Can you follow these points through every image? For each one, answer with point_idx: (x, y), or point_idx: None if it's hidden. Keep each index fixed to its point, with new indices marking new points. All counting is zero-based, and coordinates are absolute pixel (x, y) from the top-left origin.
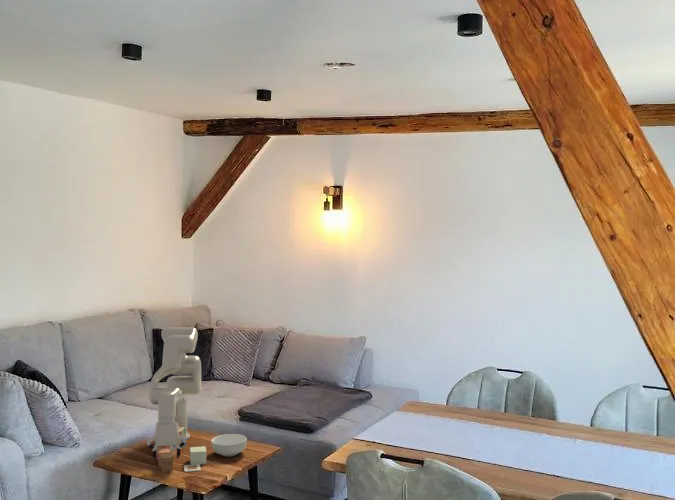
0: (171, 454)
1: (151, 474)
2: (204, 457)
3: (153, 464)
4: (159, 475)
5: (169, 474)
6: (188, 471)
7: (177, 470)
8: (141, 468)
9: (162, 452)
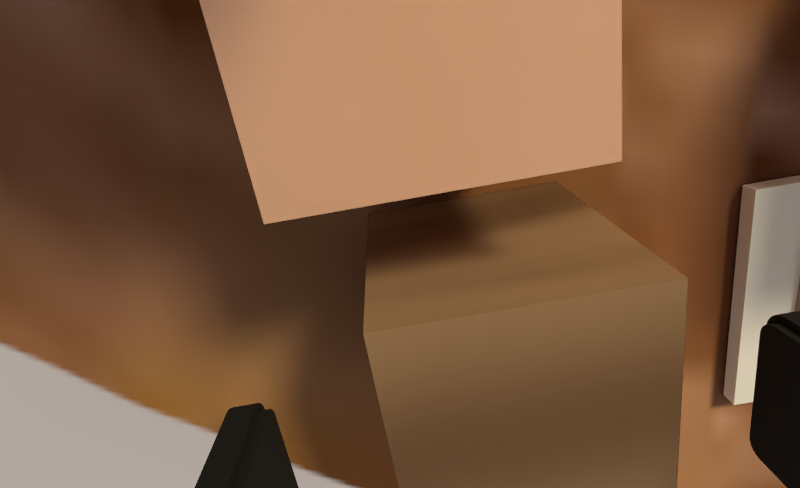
0: (658, 343)
1: (291, 450)
2: None
3: (192, 38)
4: None
5: None
6: None
7: None
8: (48, 232)
9: (378, 161)
